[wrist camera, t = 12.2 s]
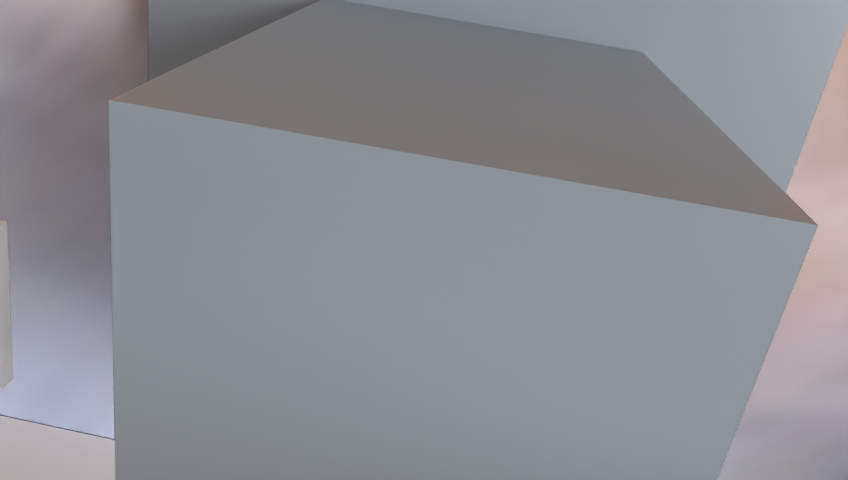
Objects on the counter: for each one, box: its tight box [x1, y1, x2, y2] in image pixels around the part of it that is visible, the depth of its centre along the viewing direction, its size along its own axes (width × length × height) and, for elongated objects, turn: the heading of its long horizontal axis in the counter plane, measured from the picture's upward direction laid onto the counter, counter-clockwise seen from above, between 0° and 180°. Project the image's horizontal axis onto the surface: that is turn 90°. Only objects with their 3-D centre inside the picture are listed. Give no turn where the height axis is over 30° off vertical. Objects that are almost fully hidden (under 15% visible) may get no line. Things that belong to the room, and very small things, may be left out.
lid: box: [108, 0, 848, 480], centre depth 14 cm, size 15×15×11 cm
